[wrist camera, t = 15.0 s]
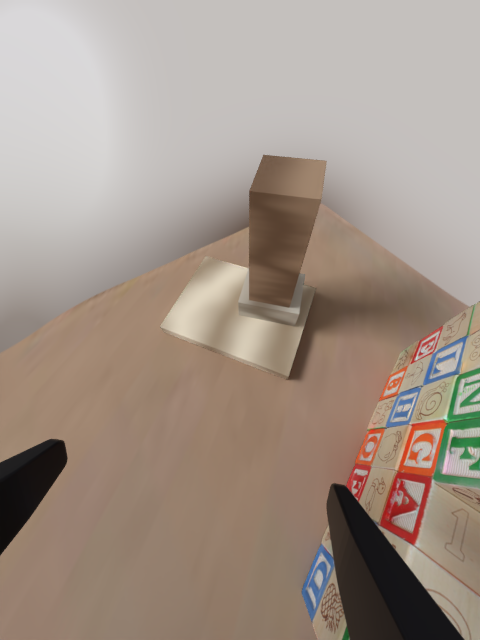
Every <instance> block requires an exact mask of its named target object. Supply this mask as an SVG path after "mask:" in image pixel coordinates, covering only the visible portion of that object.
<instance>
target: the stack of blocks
mask: <svg viewBox="0 0 480 640" xmlns="http://www.w3.org/2000/svg"><path fill="white" fill-rule="evenodd" d="M367 430H368V432H367V435H366V436H365V440H364V442H363V445H362V447H361V449H360V451H359V454H358V456H357V459H356V461H355V466H354V468H353V471H352V473H351V475H350V477H349V480H348V482H347V485H346V487H347V488H348V489H349V490H350V491H351V493H352V494H353V495H354V497H355V498H356V499H357V500H358V502H359V503H360V504H361V506H362V507H363V508H364V510H365V511H366V512H367V513H368V515H369V516H370V517H371V519H372V520H373V521H374V522H375V524H376V525H377V526H378V528H379V529H380V530H381V532H382V533H383V534H384V535H385V537H386V538H387V539H388V541H389V542H390V543H391V545H392V546H393V547H394V548H395V550H396V551H397V552H398V554H399V555H400V556H401V558H402V559H403V560H404V561H405V563H406V564H407V565H408V567H409V568H410V569H411V571H412V572H413V573H414V574H415V576H416V577H417V578H418V580H419V581H420V582H421V584H422V585H423V586H424V587H425V589H426V590H427V591H428V593H429V594H430V595H431V596H432V598H433V599H434V600H435V602H436V603H437V604H438V606H439V607H440V608H441V609H442V611H443V612H444V613H445V615H446V616H447V617H448V619H449V620H450V621H451V622H452V624H453V625H454V626H455V628H456V629H457V630H458V632H459V633H460V634H461V635H462V637H463V638H464V639H465V640H480V302H479V303H477V304H474V305H472V306H471V307H469V308H468V309H466V310H465V311H463V312H461V313H460V314H458V315H457V316H455V317H454V318H452V319H450V320H449V321H447V322H446V323H445V324H444V326H442V327H440V328H438V329H437V330H435V331H434V332H432V333H431V334H429V335H428V336H426V337H425V338H423V339H422V340H420V341H417V342H415V343H414V344H412V345H411V346H409V347H408V348H406V349H405V350H404V351H402V352H401V353H400V355H399V358H398V360H397V362H396V365H395V367H394V369H393V372H392V374H391V375H390V376H389V378H388V381H387V383H386V386H385V388H384V390H383V393H382V395H381V397H380V400H379V402H378V405H377V407H376V409H375V411H374V414H373V416H372V418H371V421H370V423H369V426H368V429H367ZM302 595H303V598H304V601H305V604H306V607H307V609H308V612H309V615H310V618H311V621H312V623H313V628H314V630H315V633H316V636H317V639H318V640H350V637H349V633H348V629H347V624H346V620H345V615H344V611H343V606H342V602H341V597H340V593H339V588H338V583H337V578H336V572H335V566H334V559H333V552H332V544H331V537H330V530H329V524H328V527H327V529H326V531H325V534H324V536H323V539H322V543H321V546H320V547H319V549H318V552H317V554H316V557H315V559H314V561H313V564H312V566H311V569H310V571H309V574H308V576H307V579H306V581H305V583H304V586H303V589H302Z"/></svg>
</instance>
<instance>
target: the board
mask: <svg viewBox="0 0 480 640" xmlns="http://www.w3.org/2000/svg"><path fill="white" fill-rule="evenodd" d="M247 272H248V268H245V267H242V266H238V265H235V264H232V263H228V262H225V261H221V260H218V259H214V258H211V257H208V256H206V257H205V258H204V260H203V261H202V263H201V264H200V266H199V268H198V269H197V271H196V272H195V274H194V275H193V277H192V278H191V280H190V281H189V283H188V284H187V286H186V287H185V289H184V291H183V292H182V294H181V295H180V297H179V298H178V300H177V301H176V303H175V304H174V306H173V307H172V309H171V311H170V312H169V314H168V315H167V317H166V318H165V320H164V321H163V323H162V324H161V326H160V328H161V329H162V331H163V332H165V333H167V334H170V335H173V336H175V337H178V338H180V339H183V340H185V341H188V342H191V343H193V344H196V345H198V346H201V347H203V348H206V349H209V350H211V351H214V352H216V353H219V354H221V355H224V356H227V357H229V358H232V359H234V360H237V361H239V362H242V363H245V364H247V365H250V366H252V367H255V368H257V369H260V370H263V371H265V372H268V373H270V374H273V375H275V376H278V377H281V378H283V379H286V380H287V378H288V377H289V374H290V370H291V367H292V364H293V361H294V358H295V355H296V351H297V348H298V345H299V342H300V339H301V335H302V332H303V329H304V326H305V323H306V319H307V316H308V313H309V310H310V307H311V303H312V300H313V297H314V294H315V291H316V288H314V287H311V286H307V285H304V286H303V293H302V299H301V306H300V312H299V316H298V319H297V321H296V324H295V326H290V325H285V324H280V323H275V322H270V321H265V320H261V319H256V318H251V317H246V316H241V315H239V309H238V301H239V297H240V294H241V291H242V288H243V285H244V281H245V278H246V275H247Z"/></svg>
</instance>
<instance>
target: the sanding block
mask: <svg viewBox="0 0 480 640" xmlns="http://www.w3.org/2000/svg"><path fill="white" fill-rule="evenodd" d="M325 169H326V161H322V160H311V159H301V158H291V157H279V156H269V155H263V158H262V160H261V163H260V165H259V168H258V170H257V173H256V176H255V178H254V181H253V183H252V186H251V188H250V191H249V195H250V196H249V197H250V198H249V201H250V202H249V209H250V210H249V268H248V272H247V275H246V278H245V281H244V285H243V288H242V291H241V294H240V297H239V301H238V309H239V315H241V316H246V317H251V318H256V319H261V320H265V321H270V322H275V323H280V324H285V325H290V326H295V324H296V321H297V319H298V316H299V312H300V306H301V299H302V293H303V286H304V279H305V274H300V270H301V267H302V264H303V260H304V257H305V253H306V250H307V247H308V243H309V240H310V236H311V233H312V230H313V226H314V223H315V219H316V216H317V213H318V209H319V206H320V202H321V199H322V191H323V184H324V176H325Z"/></svg>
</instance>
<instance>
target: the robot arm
mask: <svg viewBox="0 0 480 640" xmlns="http://www.w3.org/2000/svg"><path fill="white" fill-rule="evenodd" d="M66 463H67V453H66V447H65V443H64V441H63V440H58V439H49V440H47V441H45V442H43V443H41V444H39V445H36V446H34V447H32V448H30V449H28V450H26V451H24V452H22V453H20V454H17V455H15V456H13V457H11V458H9V459H7V460H5V461H3V462H1V463H0V555H1V554H2V553H3V551H4V550H5V549H6V548H7V546H8V545H9V544H10V542H11V541H12V540H13V539H14V537H15V536H16V535H17V534H18V532H19V531H20V530H21V528H22V527H23V526H24V525H25V523H26V522H27V521H28V519H29V518H30V517H31V515H32V514H33V512H34V511H35V510H36V508H37V507H38V505H39V504H40V502H41V501H42V499H43V498H44V496H45V495H46V494H47V492H48V491H49V489H50V488H51V486H52V485H53V483H54V482H55V480H56V479H57V477H58V476H59V474H60V473H61V472H62V470H63V469H64V467H65V465H66ZM327 516H328V523H329V530H330V537H331V544H332V552H333V559H334V566H335V572H336V578H337V583H338V588H339V593H340V597H341V602H342V606H343V611H344V615H345V620H346V624H347V629H348V633H349V637H350V640H465V639H464V638H463V637H462V635H461V634H460V633H459V632H458V630H457V629H456V628H455V626H454V625H453V624H452V622H451V621H450V620H449V619H448V617H447V616H446V615H445V613H444V612H443V611H442V609H441V608H440V607H439V606H438V604H437V603H436V602H435V600H434V599H433V598H432V596H431V595H430V594H429V593H428V591H427V590H426V589H425V587H424V586H423V585H422V584H421V582H420V581H419V580H418V578H417V577H416V576H415V574H414V573H413V572H412V571H411V569H410V568H409V567H408V565H407V564H406V563H405V561H404V560H403V559H402V558H401V556H400V555H399V554H398V552H397V551H396V550H395V548H394V547H393V546H392V545H391V543H390V542H389V541H388V539H387V538H386V537H385V535H384V534H383V533H382V532H381V530H380V529H379V528H378V526H377V525H376V524H375V522H374V521H373V520H372V519H371V517H370V516H369V515H368V513H367V512H366V511H365V510H364V508H363V507H362V506H361V504H360V503H359V502H358V500H357V499H356V498H355V497H354V495H353V494H352V493H351V491H350V490H349V489H348V488H347V487H346V486H345V485H341V484H335V483H333V484H332V485H331V487H330V491H329V495H328V499H327Z"/></svg>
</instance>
